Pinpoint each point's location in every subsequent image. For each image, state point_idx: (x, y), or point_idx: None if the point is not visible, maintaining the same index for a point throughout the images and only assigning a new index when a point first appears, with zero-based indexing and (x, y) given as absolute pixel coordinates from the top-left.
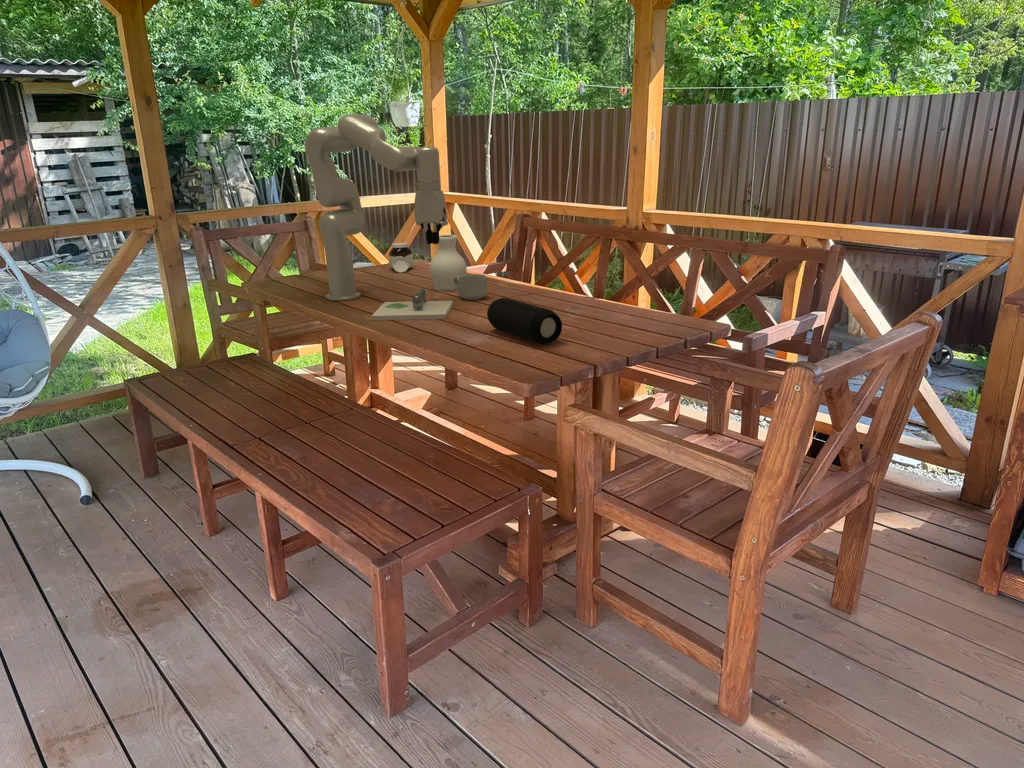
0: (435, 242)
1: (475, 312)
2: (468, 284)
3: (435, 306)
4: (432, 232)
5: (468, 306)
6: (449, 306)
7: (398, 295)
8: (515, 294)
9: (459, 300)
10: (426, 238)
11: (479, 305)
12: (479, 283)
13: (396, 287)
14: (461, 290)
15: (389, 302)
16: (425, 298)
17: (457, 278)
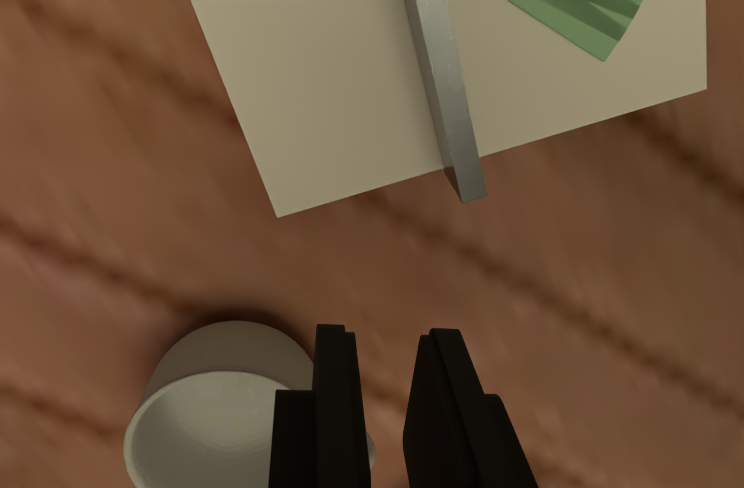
0: (315, 371)
1: (19, 47)
2: (206, 362)
3: (311, 37)
4: (350, 485)
5: (162, 193)
6: (215, 62)
7: (677, 339)
8: (65, 480)
9: (294, 312)
10: (503, 415)
11: (110, 230)
12: (144, 396)
13: (728, 470)
14: (269, 342)
15: (671, 86)
16: (445, 170)
17: None
